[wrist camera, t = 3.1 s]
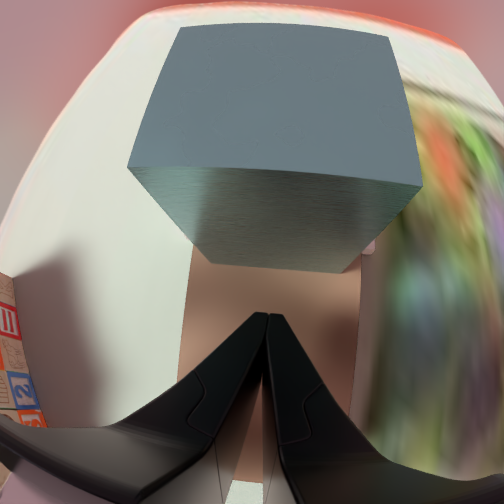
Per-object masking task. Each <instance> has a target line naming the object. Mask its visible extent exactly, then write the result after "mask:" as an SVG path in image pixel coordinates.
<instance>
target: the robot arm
mask: <svg viewBox="0 0 504 504" xmlns="http://www.w3.org/2000/svg"><path fill="white" fill-rule="evenodd" d="M261 380H262V443H263V504H504V474H494V475H490V476H487V477H484V478H481V479H477V480H471V481H459V480H452V479H447V478H443V477H440V476H436V475H432V474H429V473H425V472H422V471H419V470H416V469H412V468H409V467H406V466H403V465H400V464H397V463H394V462H392V461H390V460H388V459H387V458H385V457H384V456H382V455H381V454H380V453H379V452H378V451H377V450H376V449H375V448H374V447H373V446H372V444H371V443H370V442H369V441H368V440H367V439H366V437H365V436H364V435H363V434H362V433H361V431H360V430H359V429H358V428H357V427H356V426H355V424H354V423H353V422H352V421H351V420H350V418H349V417H348V416H347V415H346V413H345V412H344V411H343V410H342V408H341V407H340V406H339V404H338V403H337V401H336V400H335V398H334V397H333V395H332V394H331V392H330V391H329V389H328V387H327V386H326V384H325V383H324V381H323V379H322V378H321V376H320V374H319V373H318V371H317V370H316V368H315V366H314V365H313V363H312V361H311V360H310V358H309V356H308V355H307V353H306V351H305V350H304V348H303V346H302V345H301V343H300V342H299V340H298V338H297V337H296V335H295V333H294V332H293V330H292V328H291V327H290V325H289V323H288V322H287V320H286V318H285V317H284V315H283V314H279V313H270V314H269V315H268V313H266V312H254V313H253V314H252V315H251V316H250V317H249V318H248V319H246V320H245V321H244V322H243V323H242V324H241V325H240V326H239V327H238V328H237V329H236V330H235V331H234V332H233V333H232V334H231V335H229V336H228V337H227V338H226V339H225V340H224V341H223V342H222V343H221V344H220V345H219V346H218V347H217V348H215V349H214V350H213V351H212V352H211V353H210V354H209V355H208V356H207V357H206V358H205V359H203V360H202V361H201V362H200V363H199V364H198V365H197V366H196V367H195V368H194V369H193V370H191V371H190V372H189V373H188V374H187V375H185V376H184V377H183V378H182V379H181V380H180V381H178V382H177V383H176V384H175V385H174V386H172V387H171V388H170V389H168V390H167V391H165V392H164V393H163V394H161V395H160V396H158V397H157V398H155V399H154V400H152V401H151V402H149V403H148V404H146V405H145V406H143V407H142V408H140V409H139V410H137V411H135V412H134V413H132V414H131V415H129V416H128V417H126V418H124V419H123V420H121V421H119V422H117V423H114V424H112V425H109V426H104V427H90V428H48V427H33V426H28V425H23V424H20V423H17V422H15V421H13V420H11V419H9V418H8V417H6V416H4V415H3V414H1V413H0V462H1V463H2V464H3V465H4V466H5V467H6V468H7V469H8V470H9V471H10V473H9V475H8V477H7V479H6V480H5V482H4V484H3V485H2V487H1V489H0V504H225V501H226V498H227V495H228V492H229V489H230V486H231V483H232V480H233V477H234V474H235V470H236V467H237V464H238V461H239V457H240V454H241V451H242V448H243V444H244V441H245V438H246V434H247V431H248V428H249V424H250V421H251V417H252V414H253V410H254V407H255V403H256V400H257V396H258V393H259V389H260V385H261Z"/></svg>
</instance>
